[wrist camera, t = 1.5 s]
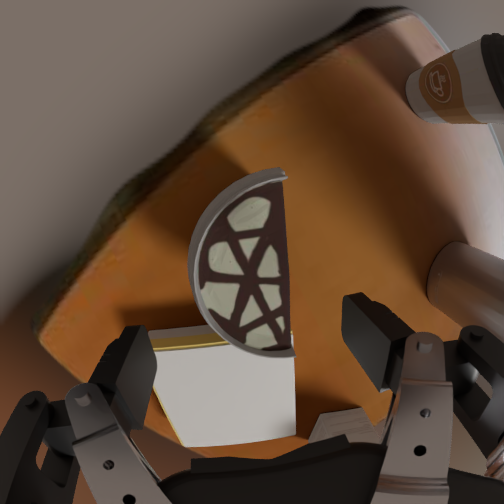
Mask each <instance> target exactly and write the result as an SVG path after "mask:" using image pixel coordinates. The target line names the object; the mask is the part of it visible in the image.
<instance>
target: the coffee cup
mask: <svg viewBox="0 0 504 504" xmlns="http://www.w3.org/2000/svg"><path fill="white" fill-rule="evenodd" d="M405 89H406V96H407V99H408V102H409V104H410V106H411V108H412V109H413V111H414V112H415V113H416V114H417V115H418V116H419V117H420V118H422V119H423V120H425V121H427V122H429V123H432V124H434V123H451V124H487V123H499V124H504V35H503V36H502V35H500V34H499V33H492V34H491V35H483V36H482V38H481V39H479V40H477V41H475V42H472V43H470V44H468V45H466V46H464V47H462V48H460V49H458V50H453V51H451V52H449V53H447V54H445V55H443V56H442V57H440V58H438V59H436V60H434V61H432V62H430V63H428V64H427V65H426V66H424V67H422V68H420V69H418V70H417V71H415V72H413V73H412V74H411V75H410V76H409V78H408V80H407V82H406V88H405Z"/></svg>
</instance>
